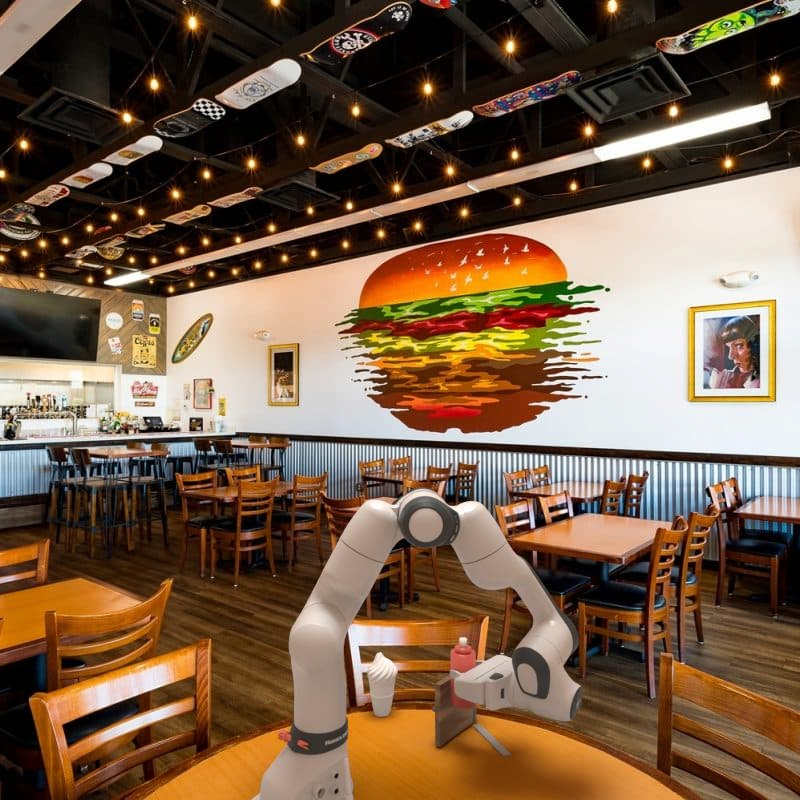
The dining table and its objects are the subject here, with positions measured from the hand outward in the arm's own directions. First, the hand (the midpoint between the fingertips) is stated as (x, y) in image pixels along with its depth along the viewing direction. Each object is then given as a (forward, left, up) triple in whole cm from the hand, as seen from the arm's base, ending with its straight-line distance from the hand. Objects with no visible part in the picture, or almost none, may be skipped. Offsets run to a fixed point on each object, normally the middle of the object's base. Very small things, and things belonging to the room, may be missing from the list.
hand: (460, 667), depth 146 cm
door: (+4, +5, -18) cm, 19 cm away
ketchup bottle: (0, -1, -8) cm, 8 cm away
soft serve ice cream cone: (+1, +26, -19) cm, 32 cm away
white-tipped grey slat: (+10, -1, -19) cm, 21 cm away
